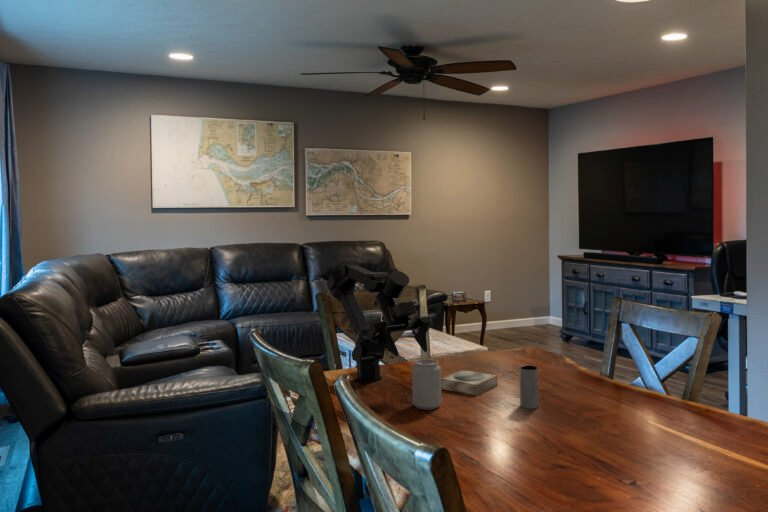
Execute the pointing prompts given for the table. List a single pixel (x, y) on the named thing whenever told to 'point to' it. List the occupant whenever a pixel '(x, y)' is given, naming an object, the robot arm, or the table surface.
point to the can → (426, 384)
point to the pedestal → (469, 382)
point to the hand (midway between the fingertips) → (412, 353)
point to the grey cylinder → (529, 387)
